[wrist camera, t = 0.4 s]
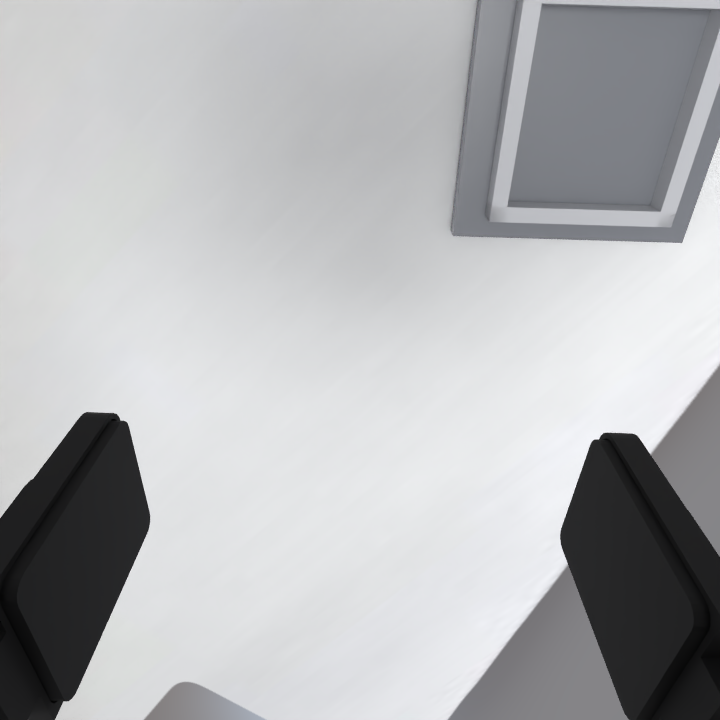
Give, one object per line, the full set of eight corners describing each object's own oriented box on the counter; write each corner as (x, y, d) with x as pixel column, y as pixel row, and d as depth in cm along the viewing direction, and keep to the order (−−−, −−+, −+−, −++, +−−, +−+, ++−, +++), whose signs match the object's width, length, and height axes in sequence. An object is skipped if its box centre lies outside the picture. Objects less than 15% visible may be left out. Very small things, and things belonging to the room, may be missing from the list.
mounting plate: (484, -50, 30) (493, -57, 27) (769, -41, 30) (802, -48, 27) (451, 230, 38) (456, 243, 36) (673, 237, 38) (693, 250, 36)
